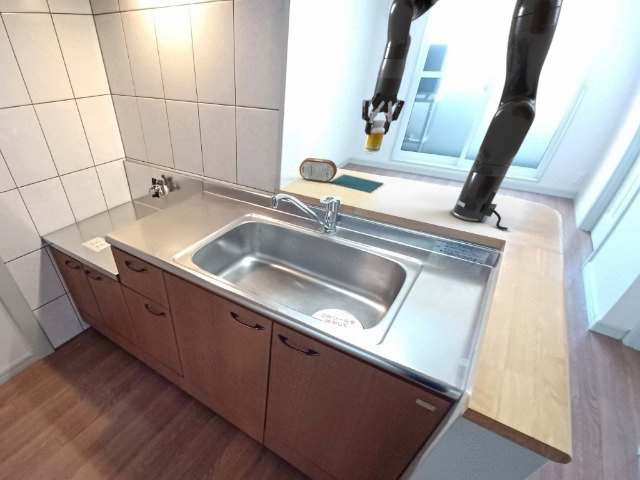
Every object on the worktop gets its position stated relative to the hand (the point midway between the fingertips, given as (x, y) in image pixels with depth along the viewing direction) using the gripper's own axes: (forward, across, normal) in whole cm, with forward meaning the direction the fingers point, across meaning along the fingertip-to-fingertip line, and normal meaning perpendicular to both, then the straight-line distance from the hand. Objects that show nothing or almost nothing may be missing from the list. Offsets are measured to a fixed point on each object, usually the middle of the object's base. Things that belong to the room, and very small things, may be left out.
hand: (375, 134), depth 114 cm
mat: (+20, +1, +8) cm, 21 cm away
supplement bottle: (+6, 0, 0) cm, 6 cm away
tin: (+20, -15, +12) cm, 28 cm away
